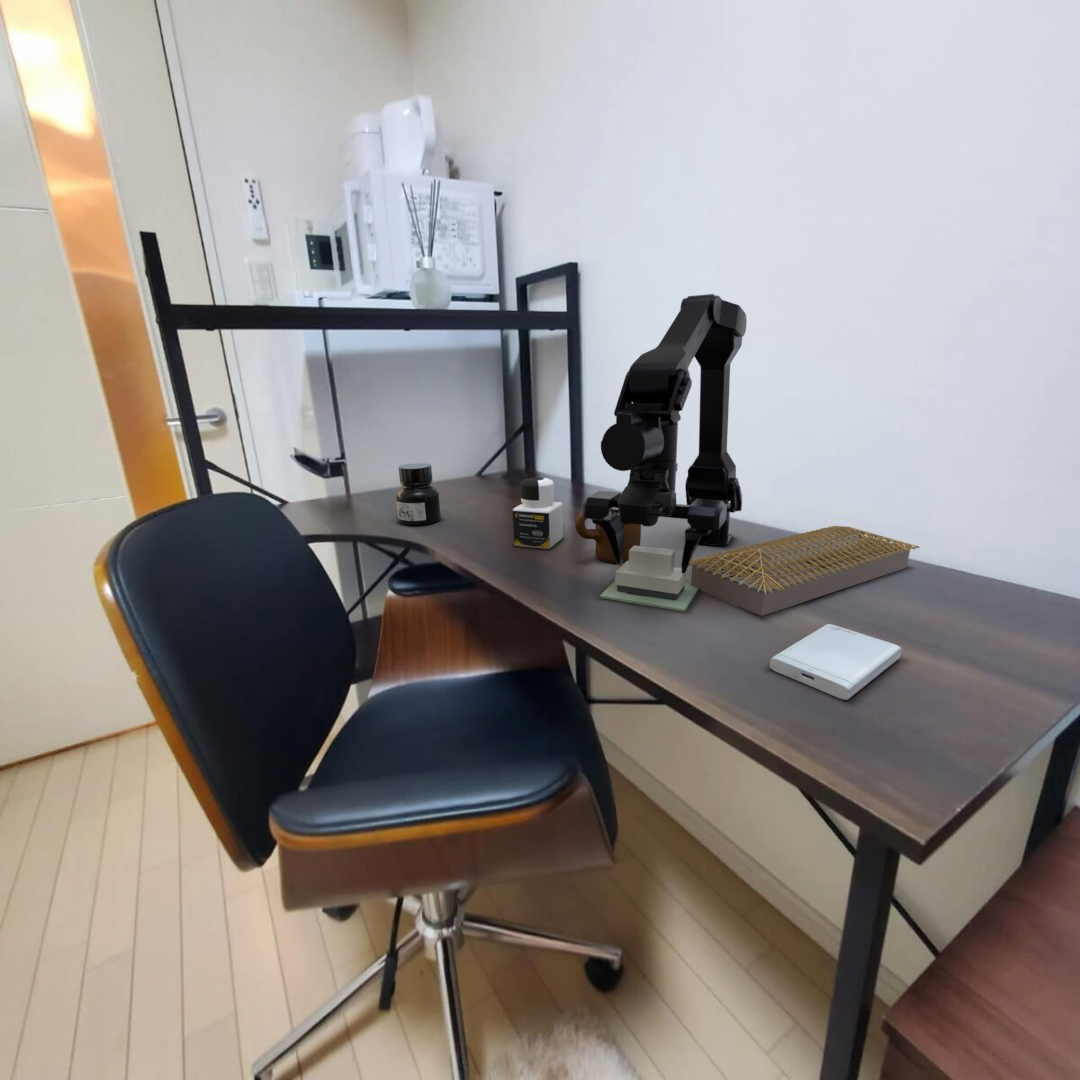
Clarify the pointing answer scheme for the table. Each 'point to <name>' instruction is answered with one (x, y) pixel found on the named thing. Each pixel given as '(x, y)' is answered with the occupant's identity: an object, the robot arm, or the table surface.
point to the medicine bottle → (537, 515)
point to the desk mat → (652, 598)
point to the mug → (602, 542)
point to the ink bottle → (417, 495)
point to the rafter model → (825, 547)
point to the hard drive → (836, 660)
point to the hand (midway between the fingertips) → (651, 568)
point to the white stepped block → (651, 573)
